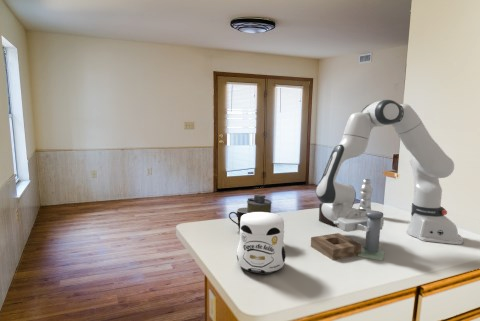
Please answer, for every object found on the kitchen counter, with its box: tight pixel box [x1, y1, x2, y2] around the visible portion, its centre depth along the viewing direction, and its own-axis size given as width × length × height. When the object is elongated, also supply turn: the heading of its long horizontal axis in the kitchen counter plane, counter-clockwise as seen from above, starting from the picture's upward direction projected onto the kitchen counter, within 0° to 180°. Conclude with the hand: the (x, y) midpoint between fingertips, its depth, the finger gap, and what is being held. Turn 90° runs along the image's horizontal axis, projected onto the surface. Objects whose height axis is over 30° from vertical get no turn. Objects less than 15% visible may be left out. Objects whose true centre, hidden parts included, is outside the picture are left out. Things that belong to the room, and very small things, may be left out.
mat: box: [357, 247, 385, 262], centre depth 135 cm, size 9×9×1 cm
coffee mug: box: [228, 207, 247, 233], centre depth 159 cm, size 12×9×10 cm
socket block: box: [310, 232, 363, 261], centre depth 138 cm, size 14×14×4 cm
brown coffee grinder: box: [318, 202, 337, 227], centre depth 175 cm, size 16×11×18 cm
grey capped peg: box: [364, 209, 384, 253], centre depth 133 cm, size 6×6×15 cm
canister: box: [246, 193, 273, 213], centre depth 146 cm, size 11×10×20 cm
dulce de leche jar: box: [236, 212, 286, 274], centre depth 121 cm, size 17×17×18 cm
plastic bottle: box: [358, 178, 374, 210], centre depth 185 cm, size 6×7×20 cm
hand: (375, 228), depth 132 cm, fingers closed on grey capped peg, 5 cm apart
